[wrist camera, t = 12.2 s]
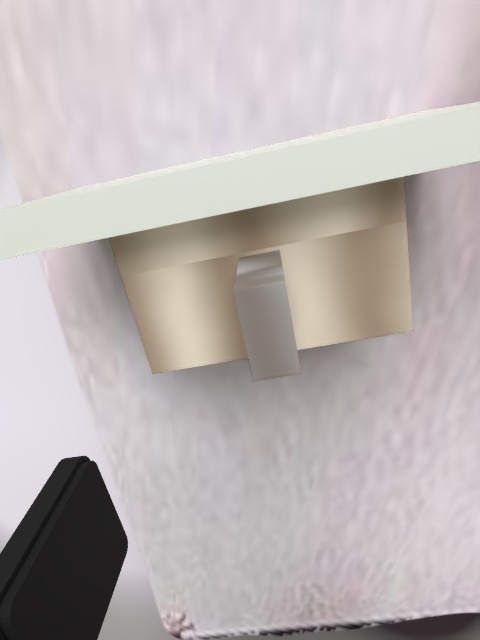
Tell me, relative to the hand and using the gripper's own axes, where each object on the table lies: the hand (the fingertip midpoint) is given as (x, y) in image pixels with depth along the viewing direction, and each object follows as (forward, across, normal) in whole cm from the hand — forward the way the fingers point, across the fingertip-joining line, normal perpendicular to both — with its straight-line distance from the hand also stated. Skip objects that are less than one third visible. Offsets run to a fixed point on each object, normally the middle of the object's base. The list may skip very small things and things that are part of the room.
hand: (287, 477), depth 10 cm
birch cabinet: (+22, +1, -1) cm, 22 cm away
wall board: (+22, +1, -6) cm, 23 cm away
